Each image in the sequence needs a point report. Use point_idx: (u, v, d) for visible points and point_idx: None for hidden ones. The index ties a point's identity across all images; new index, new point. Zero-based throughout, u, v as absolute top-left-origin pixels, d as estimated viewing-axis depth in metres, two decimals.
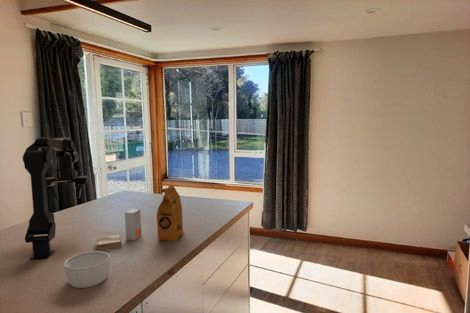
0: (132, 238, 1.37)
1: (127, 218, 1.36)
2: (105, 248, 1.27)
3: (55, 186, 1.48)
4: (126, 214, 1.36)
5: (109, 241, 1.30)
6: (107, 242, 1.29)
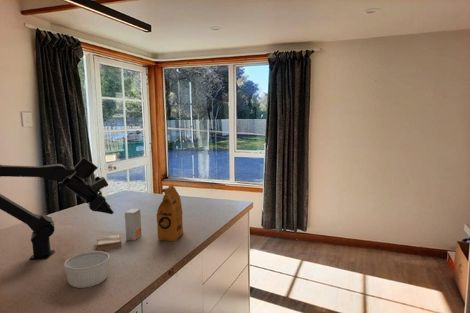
0: (132, 238, 1.37)
1: (127, 218, 1.36)
2: (105, 248, 1.27)
3: None
4: (126, 214, 1.36)
5: (109, 241, 1.30)
6: (107, 242, 1.29)
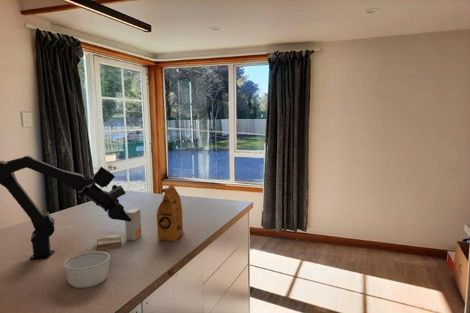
0: (132, 238, 1.37)
1: None
2: (105, 248, 1.27)
3: None
4: None
5: (109, 241, 1.30)
6: (107, 242, 1.29)
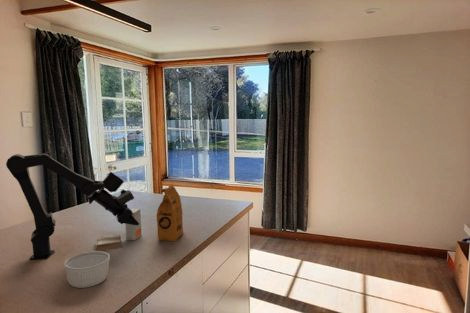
0: (132, 238, 1.37)
1: None
2: (105, 248, 1.27)
3: None
4: None
5: (109, 241, 1.30)
6: (107, 242, 1.29)
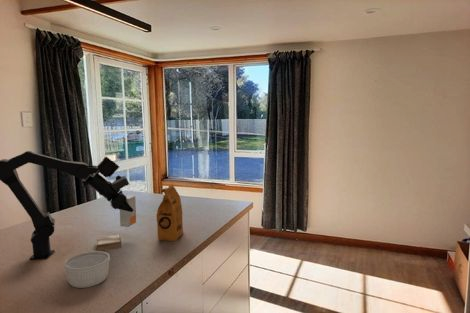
0: (126, 225, 1.35)
1: None
2: (105, 248, 1.27)
3: None
4: None
5: (109, 241, 1.30)
6: (107, 242, 1.29)
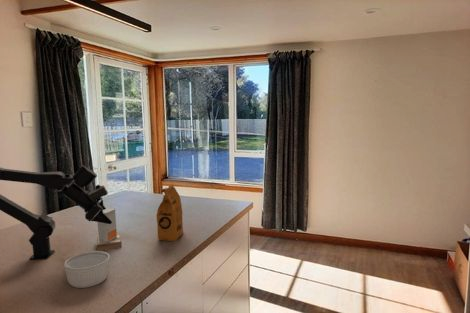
0: (104, 240, 1.29)
1: None
2: (105, 248, 1.27)
3: None
4: None
5: (109, 241, 1.30)
6: (107, 242, 1.29)
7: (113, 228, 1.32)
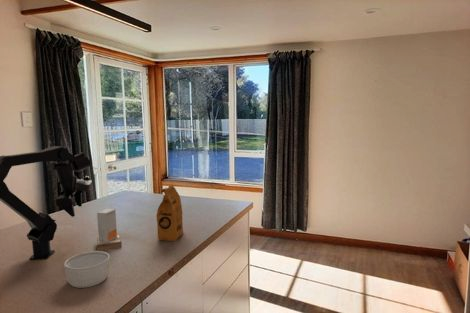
0: (104, 240, 1.29)
1: (99, 219, 1.28)
2: (105, 248, 1.27)
3: (75, 193, 1.38)
4: (98, 214, 1.28)
5: (109, 241, 1.30)
6: (107, 242, 1.29)
7: (113, 228, 1.31)
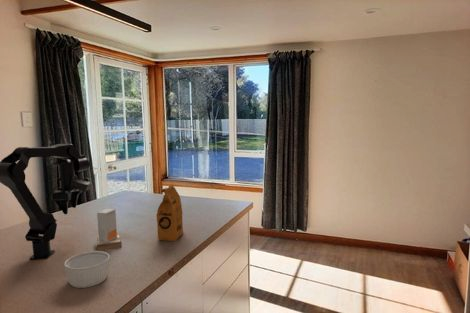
0: (104, 240, 1.29)
1: (99, 219, 1.28)
2: (105, 248, 1.27)
3: (72, 193, 1.41)
4: (98, 214, 1.28)
5: (109, 241, 1.30)
6: (107, 242, 1.29)
7: (113, 228, 1.31)
